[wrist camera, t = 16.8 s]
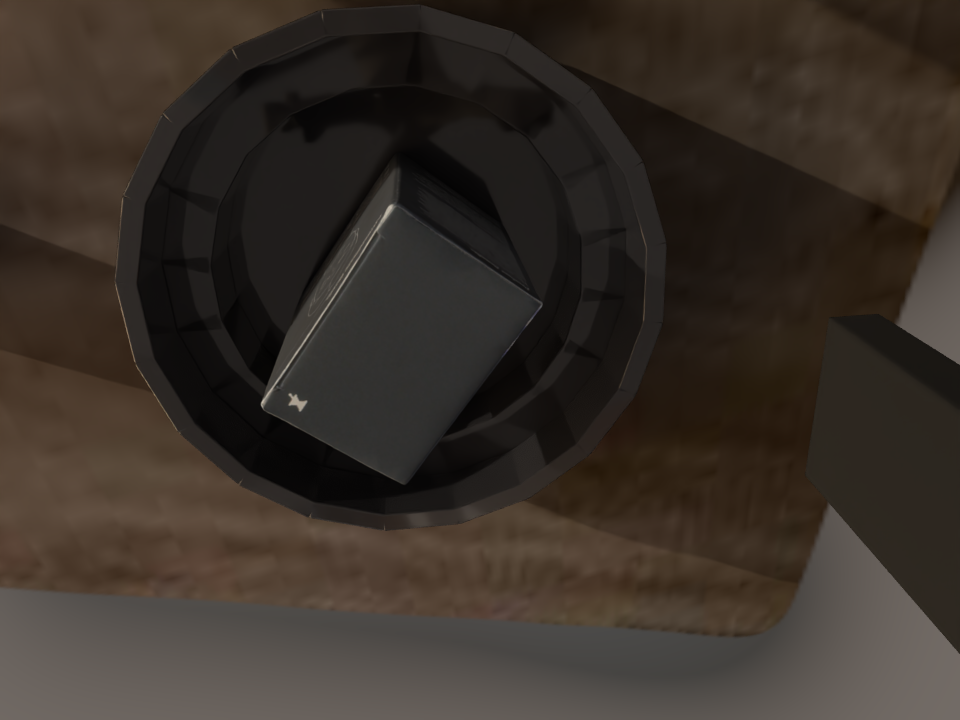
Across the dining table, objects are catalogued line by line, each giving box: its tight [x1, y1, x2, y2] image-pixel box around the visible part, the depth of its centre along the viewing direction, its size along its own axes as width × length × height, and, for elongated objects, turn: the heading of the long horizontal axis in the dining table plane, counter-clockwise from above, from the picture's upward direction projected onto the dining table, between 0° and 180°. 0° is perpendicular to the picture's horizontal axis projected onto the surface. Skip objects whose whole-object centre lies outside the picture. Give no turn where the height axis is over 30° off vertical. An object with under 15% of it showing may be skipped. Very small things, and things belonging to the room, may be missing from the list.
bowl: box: [114, 4, 667, 531], centre depth 31 cm, size 20×20×6 cm
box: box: [261, 153, 543, 484], centre depth 28 cm, size 8×6×11 cm
